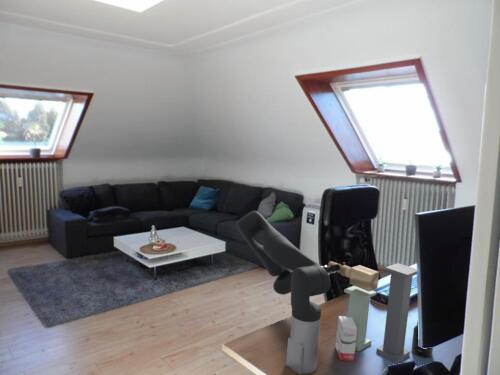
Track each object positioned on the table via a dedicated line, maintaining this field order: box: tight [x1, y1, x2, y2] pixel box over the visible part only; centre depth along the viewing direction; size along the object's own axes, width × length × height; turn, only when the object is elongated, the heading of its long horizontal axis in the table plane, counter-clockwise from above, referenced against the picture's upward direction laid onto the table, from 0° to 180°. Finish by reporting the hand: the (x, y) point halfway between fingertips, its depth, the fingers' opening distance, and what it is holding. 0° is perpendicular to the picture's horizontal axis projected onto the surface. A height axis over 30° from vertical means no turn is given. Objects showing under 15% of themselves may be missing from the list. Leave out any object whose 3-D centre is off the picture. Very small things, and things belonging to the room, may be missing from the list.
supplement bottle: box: [411, 321, 434, 358], centre depth 137 cm, size 7×7×12 cm
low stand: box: [343, 285, 377, 352], centre depth 141 cm, size 8×8×20 cm
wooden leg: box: [327, 260, 380, 291], centre depth 142 cm, size 5×19×6 cm, turn 40°
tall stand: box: [376, 262, 418, 364], centre depth 134 cm, size 8×8×31 cm
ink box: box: [335, 315, 357, 362], centre depth 134 cm, size 8×5×12 cm, turn 178°
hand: (342, 265), depth 144 cm, fingers closed on wooden leg, 3 cm apart
